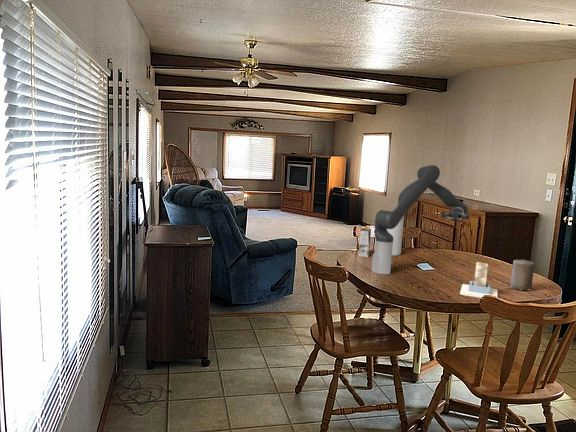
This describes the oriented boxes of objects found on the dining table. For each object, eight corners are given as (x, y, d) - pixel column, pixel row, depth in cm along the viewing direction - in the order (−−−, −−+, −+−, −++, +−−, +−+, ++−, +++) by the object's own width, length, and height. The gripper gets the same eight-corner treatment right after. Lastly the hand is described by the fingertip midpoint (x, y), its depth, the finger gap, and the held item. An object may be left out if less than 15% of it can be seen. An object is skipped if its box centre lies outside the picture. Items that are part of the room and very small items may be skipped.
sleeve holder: (460, 294, 223) (460, 285, 223) (462, 286, 238) (463, 277, 237) (497, 300, 217) (498, 291, 217) (497, 291, 232) (498, 283, 231)
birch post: (473, 290, 226) (476, 264, 224) (473, 288, 231) (476, 262, 229) (484, 292, 224) (487, 265, 222) (484, 290, 229) (487, 263, 227)
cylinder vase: (396, 251, 312) (399, 213, 309) (403, 256, 300) (407, 216, 297) (377, 251, 310) (381, 213, 306) (384, 255, 298) (388, 216, 294)
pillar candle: (535, 291, 236) (539, 261, 234) (516, 290, 235) (520, 261, 233) (524, 286, 245) (527, 257, 243) (506, 285, 244) (509, 256, 243)
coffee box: (368, 257, 291) (370, 231, 289) (358, 256, 292) (360, 230, 290) (369, 254, 300) (371, 229, 298) (358, 253, 301) (360, 228, 299)
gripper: (443, 206, 269) (440, 208, 254) (470, 208, 263) (469, 211, 248) (442, 219, 270) (439, 222, 255) (469, 222, 264) (467, 225, 249)
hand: (454, 217), depth 252 cm, fingers open, 8 cm apart
